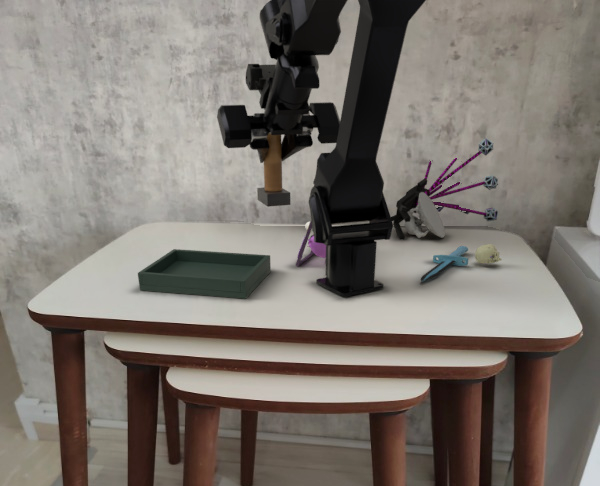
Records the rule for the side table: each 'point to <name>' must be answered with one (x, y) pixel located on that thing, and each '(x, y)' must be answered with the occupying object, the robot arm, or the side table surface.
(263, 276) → the tray
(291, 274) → the side table surface
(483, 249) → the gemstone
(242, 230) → the side table surface
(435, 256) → the knife
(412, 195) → the decorative piece
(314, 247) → the purple triangular frame ornament
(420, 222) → the miniature
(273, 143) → the wooden peg on stand
